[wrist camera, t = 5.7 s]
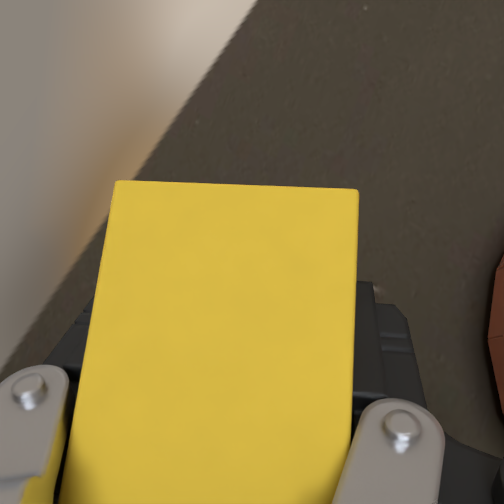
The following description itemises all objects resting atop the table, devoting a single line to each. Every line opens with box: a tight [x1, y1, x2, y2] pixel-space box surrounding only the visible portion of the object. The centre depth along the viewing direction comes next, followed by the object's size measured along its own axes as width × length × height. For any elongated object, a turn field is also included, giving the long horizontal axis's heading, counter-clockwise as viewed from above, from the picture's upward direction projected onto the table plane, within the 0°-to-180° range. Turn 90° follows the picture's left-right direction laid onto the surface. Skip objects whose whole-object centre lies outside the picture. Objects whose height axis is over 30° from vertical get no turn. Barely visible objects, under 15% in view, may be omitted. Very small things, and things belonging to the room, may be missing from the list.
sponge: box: [58, 180, 359, 504], centre depth 11 cm, size 4×7×8 cm, turn 175°
